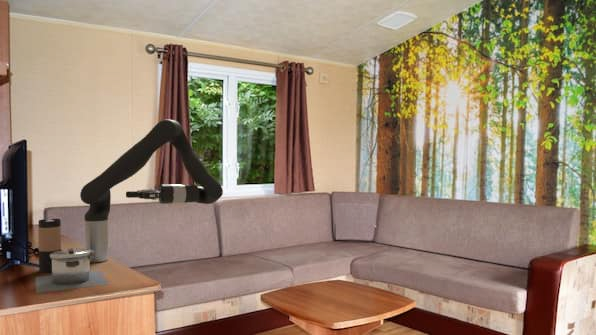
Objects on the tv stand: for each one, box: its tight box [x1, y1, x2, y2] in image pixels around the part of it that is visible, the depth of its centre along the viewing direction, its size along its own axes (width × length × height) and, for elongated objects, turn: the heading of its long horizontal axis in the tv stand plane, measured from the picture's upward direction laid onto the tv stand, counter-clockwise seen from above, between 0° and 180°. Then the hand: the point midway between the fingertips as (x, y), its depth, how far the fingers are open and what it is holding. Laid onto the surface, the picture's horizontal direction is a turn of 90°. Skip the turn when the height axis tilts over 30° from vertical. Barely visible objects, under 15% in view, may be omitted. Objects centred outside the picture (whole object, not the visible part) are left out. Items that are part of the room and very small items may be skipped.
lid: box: [50, 247, 95, 259], centre depth 166 cm, size 13×14×2 cm
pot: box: [51, 254, 93, 285], centre depth 166 cm, size 16×13×9 cm
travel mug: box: [38, 218, 62, 274], centre depth 179 cm, size 8×8×20 cm
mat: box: [34, 269, 109, 294], centre depth 166 cm, size 22×22×1 cm
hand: (126, 194), depth 176 cm, fingers closed
